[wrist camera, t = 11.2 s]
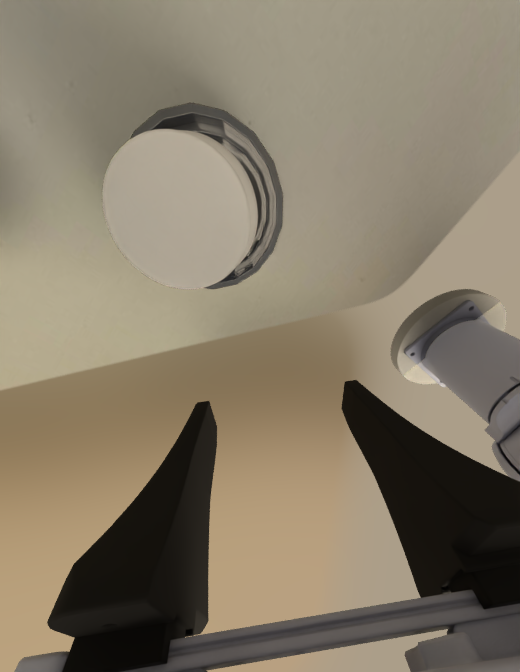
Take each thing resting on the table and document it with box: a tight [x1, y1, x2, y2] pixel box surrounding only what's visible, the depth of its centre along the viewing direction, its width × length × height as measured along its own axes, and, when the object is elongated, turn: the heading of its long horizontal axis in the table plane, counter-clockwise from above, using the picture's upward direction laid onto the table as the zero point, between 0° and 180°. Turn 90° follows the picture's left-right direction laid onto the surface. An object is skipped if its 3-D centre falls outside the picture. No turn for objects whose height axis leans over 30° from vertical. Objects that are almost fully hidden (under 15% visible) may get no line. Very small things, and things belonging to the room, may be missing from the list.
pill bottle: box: [102, 129, 258, 290], centre depth 12 cm, size 6×6×10 cm
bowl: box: [131, 103, 283, 289], centre depth 15 cm, size 9×9×4 cm
